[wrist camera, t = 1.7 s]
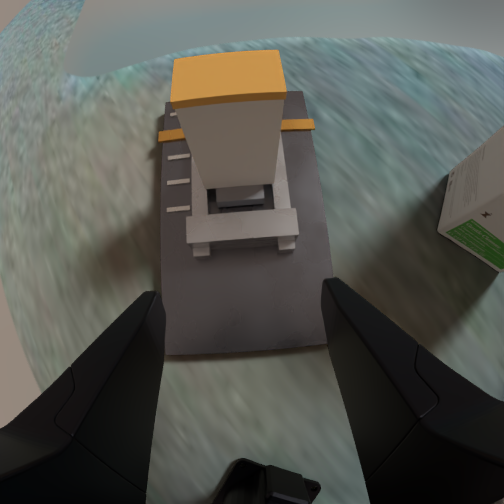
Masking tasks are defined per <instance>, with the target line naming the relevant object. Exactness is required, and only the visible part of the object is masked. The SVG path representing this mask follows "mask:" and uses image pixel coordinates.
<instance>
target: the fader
mask: <svg viewBox="0 0 504 504" xmlns="http://www.w3.org/2000/svg"><path fill="white" fill-rule="evenodd" d="M286 94H287V90H286V85H285V80H284V75H283V70H282V65H281V60H280V55H279V50H257V51H241V52H228V53H217V54H208V55H200V56H193V57H186V58H179V59H174V67H173V77H172V88H171V100H170V103H171V105H172V108H173V109H175V111H176V114H177V117H178V120H179V122H180V125H181V128H182V130H183V133H184V136H185V138H186V141H187V144H188V146H189V149H190V151H191V154H192V157H193V159H194V162H195V165H196V167H197V170H198V172H199V175H200V178H201V180H202V183H203V186H204V188H205V189H213V188H216V202H217V205H218V207H230V206H242V205H255V204H264V189H263V184H274V180H275V172H276V164H277V156H278V148H279V140H280V132H281V123H282V115H283V106H284V99H286Z"/></svg>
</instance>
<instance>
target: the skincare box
mask: <svg viewBox="0 0 504 504" xmlns="http://www.w3.org/2000/svg"><path fill="white" fill-rule="evenodd" d="M437 230H438V232H439V233H440V234H442V235H443V236H445V237H447V238H449V239H450V240H452V241H453V242H455V243H456V244H457V245H459V246H461V247H462V248H464V249H465V250H467V251H468V252H470V253H472V254H473V255H475V256H476V257H478V258H479V259H481V260H482V261H484V262H485V263H487V264H488V265H489V266H491V267H492V268H493V269H495V270H496V271H498V272H504V126H503V127H501V128H500V129H499V130H498V131H497V132H496V133H495V134H494V135H492V136H491V137H490V138H489V139H488V140H487V141H486V142H484V143H483V144H482V145H481V146H480V147H479V148H477V149H476V150H475V151H474V152H473V153H472V154H470V155H469V156H468V157H467V158H465V159H464V160H463V161H462V162H461V163H459V164H458V165H457V166H456V167H455V168H453V169H452V170H451V171H450V173H449V178H448V183H447V188H446V193H445V198H444V203H443V208H442V212H441V217H440V221H439V225H438V229H437Z"/></svg>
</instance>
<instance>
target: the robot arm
mask: <svg viewBox="0 0 504 504" xmlns="http://www.w3.org/2000/svg"><path fill="white" fill-rule="evenodd" d="M321 311H322V316H323V321H324V327H325V333H326V338H327V344H328V349H329V354H330V358H331V361H332V365H333V368H334V371H335V375H336V378H337V381H338V385H339V388H340V392H341V395H342V398H343V402H344V405H345V409H346V412H347V416H348V419H349V423H350V427H351V430H352V434H353V438H354V441H355V445H356V449H357V452H358V456H359V460H360V464H361V468H362V472H363V475H364V479H365V481H366V482H365V484H366V488H367V492H368V496H369V500H370V504H504V402H503V401H500V400H498V399H496V398H494V397H492V396H490V395H489V394H487V393H486V392H484V391H483V390H481V389H480V388H478V387H477V386H476V385H474V384H473V383H471V382H470V381H468V380H467V379H465V378H464V377H462V376H461V375H460V374H458V373H457V372H455V371H454V370H453V369H451V368H450V367H448V366H447V365H446V364H444V363H443V362H442V361H440V360H439V359H438V358H437V357H435V356H434V355H433V354H431V353H430V352H429V351H428V350H427V349H425V348H424V347H423V346H422V345H421V344H419V345H418V342H417V341H416V340H414V339H413V338H412V337H411V336H410V335H408V334H407V333H406V332H405V331H404V330H402V329H401V328H400V327H399V326H397V325H396V324H395V323H394V322H393V321H391V320H390V319H389V318H388V317H386V316H385V315H384V314H383V313H381V312H380V311H379V310H378V309H377V308H375V307H374V306H373V305H372V304H370V303H369V302H368V301H367V300H365V299H364V298H363V297H362V296H360V295H359V294H358V293H357V292H355V291H354V290H353V289H352V288H350V287H349V286H348V285H347V284H345V283H344V282H343V281H341V280H340V279H339V278H337V277H334V278H325V279H324V280H323V282H322V292H321ZM165 331H166V312H165V309H164V305H163V302H162V299H161V296H160V293H159V292H158V291H145V292H144V293H142V294H141V295H140V296H139V297H138V298H137V299H136V300H135V301H134V302H133V303H132V304H131V305H130V306H129V307H128V308H127V309H126V310H125V311H124V312H123V313H122V314H121V315H120V316H119V317H118V318H117V319H116V320H115V321H114V322H113V323H112V324H111V325H110V326H109V327H108V328H107V329H106V330H105V331H104V332H103V333H102V334H101V335H100V336H99V337H98V338H97V339H96V340H95V341H94V342H93V343H92V344H91V345H90V346H89V347H88V348H87V349H86V350H85V351H84V352H83V353H82V354H81V355H80V356H79V357H78V358H77V359H76V360H75V361H74V362H73V363H72V364H71V367H68V368H67V369H66V370H65V371H64V372H63V374H62V375H61V376H60V377H59V378H58V379H57V380H56V381H55V382H54V383H53V384H52V385H51V386H50V387H49V388H47V389H46V390H45V391H44V392H43V393H42V394H41V395H40V396H39V397H38V398H37V399H36V400H34V401H33V402H32V403H31V404H30V405H29V406H28V407H27V408H26V409H24V410H23V411H22V412H21V413H20V414H19V415H18V416H17V417H15V418H14V419H13V420H12V421H11V422H10V423H8V424H7V425H6V426H4V427H2V428H0V504H145V503H146V494H145V493H146V490H147V480H148V471H149V462H150V454H151V445H152V438H153V430H154V423H155V416H156V409H157V402H158V396H159V390H160V383H161V377H162V371H163V364H164V348H165ZM242 463H244V464H246V466H245V467H241V466H240V464H242ZM314 486H316V488H315V489H311V488H312V487H314ZM320 490H321V486H320V484H319V482H317V481H313V480H309V479H306V478H303V477H302V475H301V474H297V473H294V472H291V471H288V470H284V469H281V468H278V467H275V466H272V465H268V466H265V465H262V464H259V463H256V462H254V461H251V460H248V459H245V458H240V459H238V460H237V461H236V463H235V465H234V467H233V468H232V470H231V472H230V474H229V475H228V477H227V479H226V481H225V482H224V484H223V486H222V487H221V489H220V491H219V492H218V494H217V496H216V497H215V499H214V501H213V502H212V504H311V503H312V502H313V501H314V499H315V498H316V496H317V495H318V493H319V492H320Z"/></svg>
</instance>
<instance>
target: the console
mask: <svg viewBox="0 0 504 504" xmlns="http://www.w3.org/2000/svg"><path fill="white" fill-rule="evenodd" d="M311 130H315V126H314V122H313V119H308V115H307V110H306V105H305V101H304V96H303V92H302V91H287V94H286V99H284V106H283V115H282V123H281V132H280V140H279V148H278V156H277V164H276V172H275V180H274V184H263V189H264V204H255V205H242V206H230V207H218V205H217V202H216V188H213V189H205V188H204V186H203V183H202V180H201V178H200V175H199V172H198V170H197V167H196V165H195V162H194V159H193V157H192V154H191V151H190V149H189V146H188V144H187V141H186V138H185V136H184V133H183V130H182V128H181V125H180V122H179V120H178V117H177V114H176V111H175V109H173V108H172V105H171V103H170V102H166V105H165V118H164V131H160V132H159V139H158V142H159V143H161V142H163V148H162V169H161V205H160V252H161V288H162V302H163V305H164V309H165V312H166V331H165V353H166V355H184V354H213V353H232V352H248V351H261V350H273V349H284V348H294V347H303V346H312V345H320V344H327V338H326V333H325V327H324V321H323V316H322V311H321V292H322V282H323V280H324V279H325V278H333V270H332V262H331V254H330V246H329V238H328V231H327V224H326V217H325V210H324V203H323V197H322V191H321V184H320V178H319V173H318V167H317V161H316V156H315V150H314V145H313V140H312V135H311Z"/></svg>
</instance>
